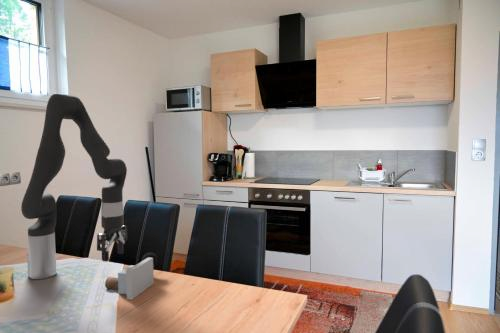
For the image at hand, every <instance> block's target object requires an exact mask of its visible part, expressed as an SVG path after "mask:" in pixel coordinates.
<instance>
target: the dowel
mask: <svg viewBox="0 0 500 333" xmlns="http://www.w3.org/2000/svg"><path fill="white" fill-rule="evenodd" d="M104 285H105V288H106V289H109V288H110V289H111V290H118V277H114V276H113V277H111V276H109V277H107V278H106V279H105V284H104Z"/></svg>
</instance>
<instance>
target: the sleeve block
mask: <svg viewBox="0 0 500 333" xmlns="http://www.w3.org/2000/svg"><path fill="white" fill-rule="evenodd" d="M135 265H136V264H135ZM135 265H133V264H132V265H131V264H130V265H128V266H127V267H125V268H123V269H122V270H120V271H119V272H117V278H118V289H117V290H118V292H117V293H118V294H121V295H127V285H126V270H128V269H130V268H131V267H133V266H135Z"/></svg>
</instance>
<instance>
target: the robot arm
mask: <svg viewBox="0 0 500 333" xmlns="http://www.w3.org/2000/svg"><path fill="white" fill-rule="evenodd" d="M44 115H45V116H44V124H43V130H42V135H41V138H40V141H39V142H40V143H39V146H38V149H37V153H36V157H35V162H34V166H33V170H32V173H31V177H30V180H29V183H28V185H27V188H26V190H25V193H24V196H23V199H22V201H21V208H20V210H21V214H22V216H23V217H24V218H25V219H27V220H35V219H37V221H36V222H35V223H33V224H32V225H31V226H29V227H28V229H27V238H28V239H27V241H28V253H27V254H26V259H27V261H26V262H27V276H28V277H29V278H30V279H31V280H43V279H46V278H51V277H53V276H55V275H56V274H57V257H56V256H57V255H56V254H57V253H56V230H55V229H56V226H57V202H56V199H55V197H54V196H53V195H52V194H51V193H44V192H45V190H46V188H47V187H48V185H49V184H50V183H51V182H52V181H53V180H54V178H55V177H56V176H57V175H58V173H59V172H60V171H61V170H62V167H63V165H64V160H65V157H66V147H65V145H64V141H63V139H62V136H61V126H62V123H63V119H64V120H71V121H72V122H74V123H75V124H76V125H77V126H78V128H79V135H80V136H79V137H80V138H79V139H80V143H81V145H82V147H83V148H84V150H85V152H86V153H87V155H89V157H90V158H91V162H92V165H93V169H94V171H95V173H96V175H97V176H98V177H100V179H103V180H109V182H108V184H106V185H104V186H102V188H101V206H100V216H101V217H100V220H101V223H100V224H101V228H102V229H103V233H97V234H96V235H97V236H96V251H99V252H101V261H102V262H108V261H110V256H109V252H110V251H109V249H110V248H111V247H112V245H113V243H114V242H116V243H117V244H116V246H117V247H116V248H117V249H116V251H117V254H118V255H119V254H120V255H123V254H124V249H125V246H124V245H125V243H126V241H128V226H127V225H124V222H125V220H124V203H123V202H124V201H123V191H124V190H123V189H124V186H125V181H126V178H127V172H128V169H127V165H126V162H125V161H123V160H122V159H120V158H110V159H109V158H108V157H109V155H110V153H111V150H110V148H109V146H108V145H107V143H106V142H105V141H104V139H103V138H102V136H101V135H100V134H99V133H98V131H97V129H96V128H95V125H94V123H93V121H92V118H91V117H90V115H89V112H88V111H87V109H86V106H85V105H84V103H83V101H82V100H81V99H80V98H79V97H77V96H75V95H70V94H65V93H64V94H63V93H59V92H55V93H53V94H52V95H50V96H49V98H48V101H47V104H46V110H45V114H44ZM28 277H27V278H28Z"/></svg>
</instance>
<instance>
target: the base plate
mask: <svg viewBox="0 0 500 333" xmlns="http://www.w3.org/2000/svg"><path fill="white" fill-rule="evenodd" d="M154 279H155V278H154V270H153V258H149V257H148V258H146V259H145V260H143V261H142V260H141V261H140V262H139V263H137V264H135V266H133V267H131V268H130V269H128V270H126V285H127V294H126V300H131V301H132V300H134V299H135V298H136V297H138V296H139V295H141V294H142V293H143V292H145V290H147V289H149V288H150V287H151V286H152V285H153V284H154Z"/></svg>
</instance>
